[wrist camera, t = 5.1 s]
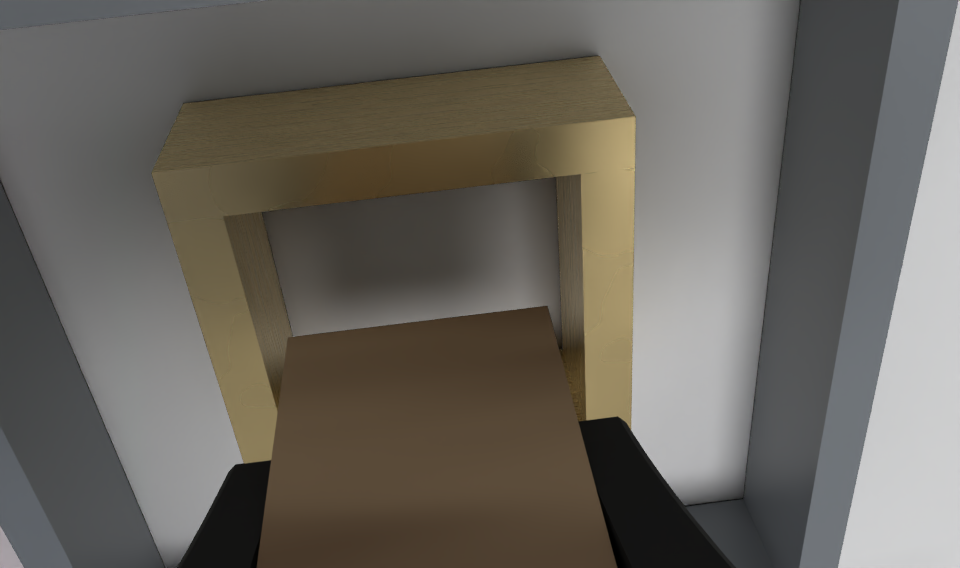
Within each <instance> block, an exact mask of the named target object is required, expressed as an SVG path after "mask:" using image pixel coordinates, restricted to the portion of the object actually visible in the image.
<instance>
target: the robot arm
mask: <svg viewBox="0 0 960 568" xmlns="http://www.w3.org/2000/svg"><path fill="white" fill-rule="evenodd" d="M578 423H579V426H580V430H581V434H582V438H583V441H584V445H585V449H586V453H587V456H588V460H589V464H590V468H591V471H592V475H593V479H594V482H595V486H596V490H597V494H598V497H599V501H600V505H601V509H602V512H603V516H604V520H605V524H606V527H607V531H608V535H609V539H610V542H611V546H612V550H613V554H614V557H615V561H616V565H617V568H736V567H735V566H734V565H733V564H732V562H731V561H730V560H729V559H728V558H727V557H726V556H725V554H724V553H723V552H722V551H721V550H720V549H719V547H718V546H717V545H716V544H715V543H714V541H713V540H712V539H711V538H710V536H709V535H708V534H707V533H706V532H705V530H704V529H703V528H702V527H701V526H700V524H699V523H698V522H697V521H696V520H695V518H694V517H693V516H692V515H691V514H690V512H689V511H688V510H687V508H686V507H685V506H684V505H683V503H682V502H681V501H680V500H679V498H678V497H677V496H676V494H675V493H674V492H673V490H672V489H671V488H670V486H669V485H668V484H667V482H666V481H665V479H664V478H663V477H662V475H661V474H660V473H659V471H658V470H657V469H656V467H655V466H654V464H653V463H652V461H651V460H650V459H649V457H648V456H647V454H646V453H645V451H644V450H643V448H642V447H641V445H640V444H639V442H638V441H637V439H636V438H635V436H634V434H633V433H632V431H631V430H630V428H629V426H628V424H627V423H626V422H625V421H624V420H622V419H621V418H619V417H618V416H617V417H609V418H601V419H593V420H585V421H578ZM270 465H271V460H268V461H260V462H252V463H245V464H237V465H235V466H234V467H233V468H232V469H231V470H230V471H229V472H228V474H227V476H226V478H225V480H224V482H223V484H222V486H221V488H220V490H219V492H218V494H217V496H216V498H215V500H214V502H213V504H212V506H211V508H210V509H209V511H208V513H207V515H206V517H205V519H204V521H203V523H202V524H201V526H200V528H199V530H198V532H197V534H196V535H195V537H194V539H193V541H192V543H191V544H190V546H189V548H188V550H187V551H186V553H185V555H184V557H183V559H182V560H181V562H180V564H179V565H178V567H177V568H257V561H258V554H259V547H260V539H261V532H262V524H263V517H264V510H265V502H266V495H267V487H268V480H269V473H270Z"/></svg>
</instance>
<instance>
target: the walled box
mask: <svg viewBox="0 0 960 568" xmlns="http://www.w3.org/2000/svg"><path fill="white" fill-rule="evenodd" d="M257 1H266V0H0V30H5V29H14V28H23V27H32V26H41V25H50V24H59V23H68V22H77V21H86V20H95V19H104V18H113V17H122V16H131V15H140V14H149V13H158V12H167V11H176V10H185V9H194V8H203V7H212V6H221V5H230V4H239V3H248V2H257ZM957 4H958V0H801V4H800V13H799V22H798V30H797V39H796V48H795V56H794V65H793V74H792V82H791V91H790V99H789V108H788V117H787V125H786V134H785V143H784V151H783V160H782V169H781V177H780V186H779V195H778V203H777V212H776V221H775V229H774V238H773V247H772V255H771V264H770V273H769V281H768V290H767V298H766V307H765V316H764V324H763V333H762V342H761V350H760V359H759V368H758V376H757V385H756V394H755V402H754V411H753V420H752V428H751V437H750V446H749V454H748V463H747V472H746V480H745V489H744V497H743V499H740V500H732V501H725V502H717V503H710V504H702V505H694V506H687V507H686V508H687V510H688V511H689V512H690V514H691V515H692V516H693V517H694V518H695V520H696V521H697V522H698V523H699V524H700V526H701V527H702V528H703V529H704V530H705V532H706V533H707V534H708V535H709V536H710V538H711V539H712V540H713V541H714V543H715V544H716V545H717V546H718V547H719V549H720V550H721V551H722V552H723V553H724V554H725V556H726V557H727V558H728V559H729V560H730V561H731V562H732V564H733V565H734V566H735V567H736V568H838V564H839V559H840V554H841V550H842V545H843V540H844V536H845V531H846V526H847V521H848V517H849V512H850V507H851V503H852V498H853V493H854V489H855V484H856V479H857V474H858V470H859V465H860V460H861V456H862V451H863V446H864V442H865V437H866V432H867V427H868V423H869V418H870V413H871V409H872V404H873V399H874V395H875V390H876V385H877V380H878V376H879V371H880V366H881V362H882V357H883V352H884V348H885V343H886V338H887V333H888V329H889V324H890V319H891V315H892V310H893V305H894V301H895V296H896V291H897V286H898V282H899V277H900V272H901V268H902V263H903V258H904V254H905V249H906V244H907V239H908V235H909V230H910V225H911V221H912V216H913V211H914V206H915V202H916V197H917V192H918V188H919V183H920V178H921V174H922V169H923V164H924V159H925V155H926V150H927V145H928V141H929V136H930V131H931V127H932V122H933V117H934V112H935V108H936V103H937V98H938V94H939V89H940V84H941V80H942V75H943V70H944V65H945V61H946V56H947V51H948V47H949V42H950V37H951V33H952V28H953V23H954V18H955V14H956V9H957ZM0 526H1V527H2V529H3V531H4V533H5V535H6V536H7V538H8V540H9V542H10V543H11V545H12V547H13V549H14V551H15V552H16V554H17V556H18V558H19V560H20V561H21V563H22V565H23V567H24V568H165V567H164V565H163V562H162V560H161V558H160V555H159V553H158V551H157V548H156V546H155V544H154V541H153V539H152V536H151V534H150V532H149V529H148V527H147V525H146V522H145V520H144V518H143V515H142V513H141V511H140V508H139V506H138V504H137V501H136V499H135V497H134V494H133V492H132V490H131V487H130V485H129V483H128V480H127V478H126V476H125V473H124V471H123V468H122V466H121V464H120V461H119V459H118V457H117V454H116V452H115V450H114V447H113V445H112V443H111V440H110V438H109V436H108V433H107V431H106V429H105V426H104V424H103V422H102V419H101V417H100V415H99V412H98V410H97V408H96V405H95V403H94V400H93V398H92V396H91V393H90V391H89V389H88V386H87V384H86V382H85V379H84V377H83V375H82V372H81V370H80V368H79V365H78V363H77V361H76V358H75V356H74V354H73V351H72V349H71V347H70V344H69V342H68V340H67V337H66V335H65V332H64V330H63V328H62V325H61V323H60V321H59V318H58V316H57V314H56V311H55V309H54V307H53V304H52V302H51V300H50V297H49V295H48V293H47V290H46V288H45V286H44V283H43V281H42V279H41V276H40V274H39V272H38V269H37V267H36V264H35V262H34V260H33V257H32V255H31V253H30V250H29V248H28V246H27V243H26V241H25V239H24V236H23V234H22V232H21V229H20V227H19V225H18V222H17V220H16V218H15V215H14V213H13V211H12V208H11V206H10V204H9V201H8V199H7V196H6V194H5V192H4V189H3V187H2V185H1V182H0Z"/></svg>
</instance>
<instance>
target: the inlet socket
mask: <svg viewBox="0 0 960 568" xmlns="http://www.w3.org/2000/svg"><path fill="white" fill-rule="evenodd" d="M635 129H636V116H635V115H634V113H633V111H632V110H631V108H630V106H629V105H628V103H627V101H626V100H625V98H624V96H623V94H622V93H621V91H620V89H619V88H618V86H617V84H616V83H615V81H614V79H613V78H612V76H611V74H610V73H609V71H608V69H607V68H606V66H605V64H604V62H603V61H602V59H601V57H600V56H594V57H585V58H576V59H568V60H559V61H550V62H541V63H533V64H524V65H515V66H506V67H498V68H489V69H480V70H471V71H463V72H454V73H445V74H436V75H428V76H419V77H410V78H401V79H393V80H384V81H375V82H366V83H358V84H349V85H340V86H331V87H323V88H314V89H305V90H296V91H288V92H279V93H270V94H261V95H253V96H244V97H235V98H226V99H218V100H209V101H200V102H191V103H183V105H182V107H181V110H180V112H179V114H178V116H177V118H176V121H175V123H174V125H173V127H172V129H171V131H170V134H169V136H168V138H167V140H166V142H165V144H164V147H163V149H162V151H161V153H160V155H159V157H158V160H157V162H156V164H155V166H154V168H153V171H152V173H151V174H152V177H153V180H154V183H155V186H156V189H157V193H158V196H159V199H160V202H161V205H162V208H163V211H164V214H165V218H166V221H167V224H168V227H169V230H170V233H171V236H172V239H173V243H174V246H175V249H176V252H177V255H178V258H179V261H180V264H181V268H182V271H183V274H184V277H185V280H186V283H187V286H188V290H189V293H190V296H191V299H192V302H193V305H194V308H195V311H196V315H197V318H198V321H199V324H200V327H201V330H202V333H203V336H204V340H205V343H206V346H207V349H208V352H209V355H210V358H211V362H212V365H213V368H214V371H215V374H216V377H217V380H218V383H219V387H220V390H221V393H222V396H223V399H224V402H225V405H226V408H227V412H228V415H229V418H230V421H231V424H232V427H233V430H234V433H235V437H236V440H237V443H238V446H239V449H240V452H241V455H242V459H243V462H244V464H245V463H252V462H260V461H268V460H271V458H272V450H273V443H274V436H275V428H276V421H277V413H278V406H279V399H280V391H281V384H282V376H283V369H284V362H285V354H286V347H287V339H288V337H293V336H292V332H291V328H290V324H289V320H288V316H287V312H286V308H285V304H284V300H283V296H282V292H281V288H280V284H279V280H278V276H277V272H276V268H275V264H274V260H273V256H272V252H271V248H270V244H269V240H268V236H267V232H266V228H265V224H264V220H263V216H262V212H264V211H273V210H281V209H289V208H298V207H306V206H315V205H323V204H332V203H340V202H348V201H357V200H365V199H374V198H382V197H391V196H399V195H408V194H416V193H424V192H433V191H441V190H450V189H458V188H467V187H475V186H484V185H492V184H500V183H509V182H517V181H526V180H534V179H543V178H551V177H556V193H557V218H558V243H559V268H560V293H561V317H562V342H563V349H561V350H559V351H560V355H561V359H562V363H563V366H564V370H565V374H566V378H567V381H568V385H569V389H570V393H571V396H572V400H573V404H574V408H575V411H576V415H577V419H578V421H585V420H593V419H601V418H609V417H617V416H618V417H619V418H621V419H622V420H624V421H625V422H626V423H627V424H628V426H629V428H630V430H631V403H632V334H633V266H634V197H635Z"/></svg>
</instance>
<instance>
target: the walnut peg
mask: <svg viewBox="0 0 960 568" xmlns="http://www.w3.org/2000/svg"><path fill="white" fill-rule="evenodd" d="M257 568H617V565H616V561H615V557H614V554H613V550H612V546H611V542H610V539H609V535H608V531H607V527H606V524H605V520H604V516H603V512H602V509H601V505H600V501H599V497H598V494H597V490H596V486H595V482H594V479H593V475H592V471H591V468H590V464H589V460H588V456H587V453H586V449H585V445H584V441H583V438H582V434H581V430H580V426H579V423H578V419H577V415H576V411H575V408H574V404H573V400H572V396H571V393H570V389H569V385H568V381H567V378H566V374H565V370H564V366H563V363H562V359H561V355H560V351H559V348H558V344H557V340H556V336H555V333H554V329H553V325H552V321H551V318H550V314H549V310H548V306H542V307H534V308H526V309H517V310H509V311H501V312H493V313H485V314H476V315H468V316H460V317H452V318H444V319H435V320H427V321H419V322H411V323H403V324H395V325H386V326H378V327H370V328H362V329H354V330H345V331H337V332H329V333H321V334H313V335H304V336H296V337H288V339H287V347H286V354H285V362H284V369H283V376H282V384H281V391H280V399H279V406H278V413H277V421H276V428H275V436H274V443H273V450H272V458H271V465H270V473H269V480H268V487H267V495H266V502H265V510H264V517H263V524H262V532H261V539H260V547H259V554H258V561H257Z"/></svg>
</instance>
